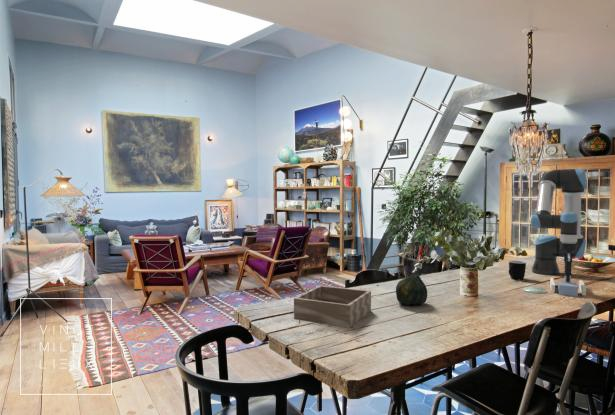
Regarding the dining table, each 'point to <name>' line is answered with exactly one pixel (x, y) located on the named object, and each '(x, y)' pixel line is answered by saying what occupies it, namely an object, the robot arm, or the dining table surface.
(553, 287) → the channel
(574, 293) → the block
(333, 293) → the planter box
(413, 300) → the squash
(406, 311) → the dining table surface
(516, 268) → the mug
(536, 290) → the coaster
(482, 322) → the dining table surface
